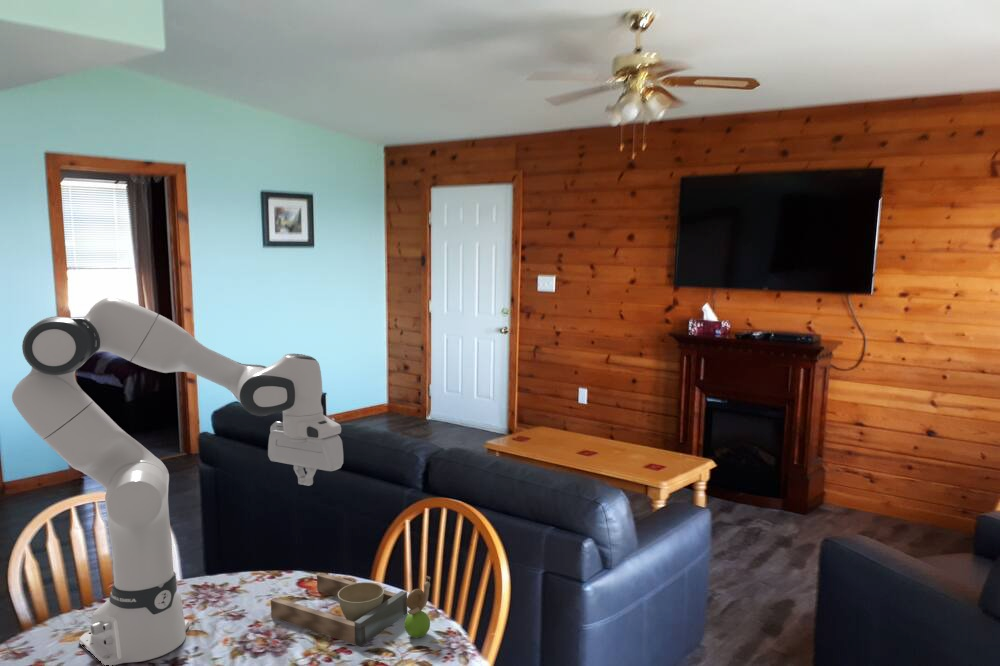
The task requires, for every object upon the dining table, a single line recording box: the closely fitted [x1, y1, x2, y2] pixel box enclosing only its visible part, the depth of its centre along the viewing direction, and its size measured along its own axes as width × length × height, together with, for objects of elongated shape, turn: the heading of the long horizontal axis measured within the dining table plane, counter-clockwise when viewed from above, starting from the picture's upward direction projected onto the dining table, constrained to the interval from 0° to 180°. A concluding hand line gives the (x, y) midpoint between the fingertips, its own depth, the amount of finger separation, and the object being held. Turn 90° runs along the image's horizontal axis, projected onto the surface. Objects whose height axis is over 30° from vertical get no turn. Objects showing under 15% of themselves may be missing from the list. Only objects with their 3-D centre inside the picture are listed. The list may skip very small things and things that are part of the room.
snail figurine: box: [404, 575, 431, 639], centre depth 150 cm, size 5×6×12 cm
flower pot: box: [337, 581, 385, 622], centre depth 156 cm, size 10×10×7 cm
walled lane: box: [270, 572, 408, 647], centre depth 159 cm, size 26×16×5 cm, turn 61°
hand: (305, 484), depth 161 cm, fingers closed
